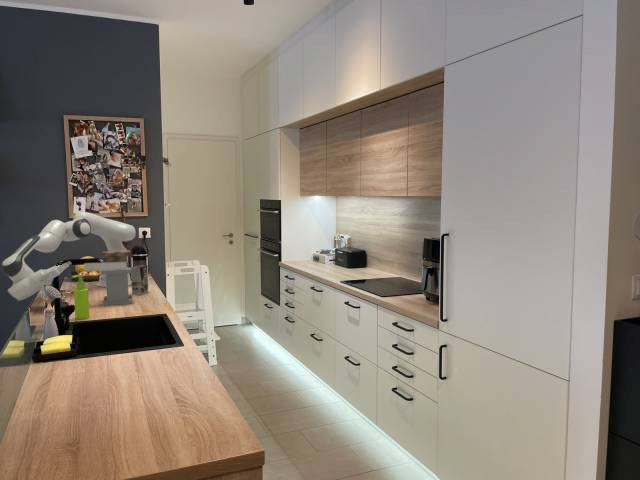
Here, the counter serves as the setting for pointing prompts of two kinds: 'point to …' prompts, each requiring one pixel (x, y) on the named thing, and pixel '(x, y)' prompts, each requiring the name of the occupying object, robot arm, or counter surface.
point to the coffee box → (139, 279)
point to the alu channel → (105, 266)
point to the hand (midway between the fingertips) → (69, 263)
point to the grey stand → (116, 287)
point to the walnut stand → (117, 260)
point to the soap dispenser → (81, 299)
